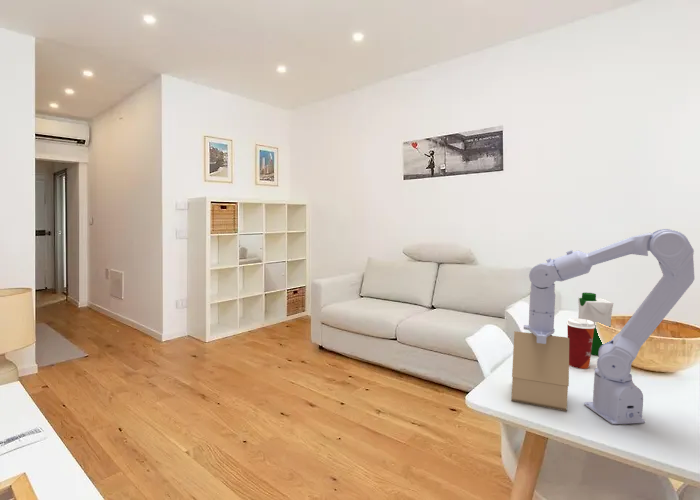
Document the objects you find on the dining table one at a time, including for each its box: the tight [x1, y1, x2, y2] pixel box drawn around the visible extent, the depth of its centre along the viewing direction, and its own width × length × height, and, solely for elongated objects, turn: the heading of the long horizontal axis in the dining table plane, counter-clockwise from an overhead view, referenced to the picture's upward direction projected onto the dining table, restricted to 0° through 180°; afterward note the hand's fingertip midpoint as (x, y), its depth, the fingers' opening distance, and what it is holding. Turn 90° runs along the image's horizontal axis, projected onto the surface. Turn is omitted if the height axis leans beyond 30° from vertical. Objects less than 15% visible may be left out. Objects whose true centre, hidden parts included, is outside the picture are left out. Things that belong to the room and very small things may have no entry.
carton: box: [511, 377, 569, 412], centre depth 99 cm, size 11×12×6 cm
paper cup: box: [566, 317, 595, 370], centre depth 120 cm, size 8×8×14 cm
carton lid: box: [511, 330, 570, 387], centre depth 95 cm, size 11×12×1 cm
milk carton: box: [577, 292, 614, 356], centre depth 131 cm, size 9×9×20 cm
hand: (539, 363), depth 99 cm, fingers closed
